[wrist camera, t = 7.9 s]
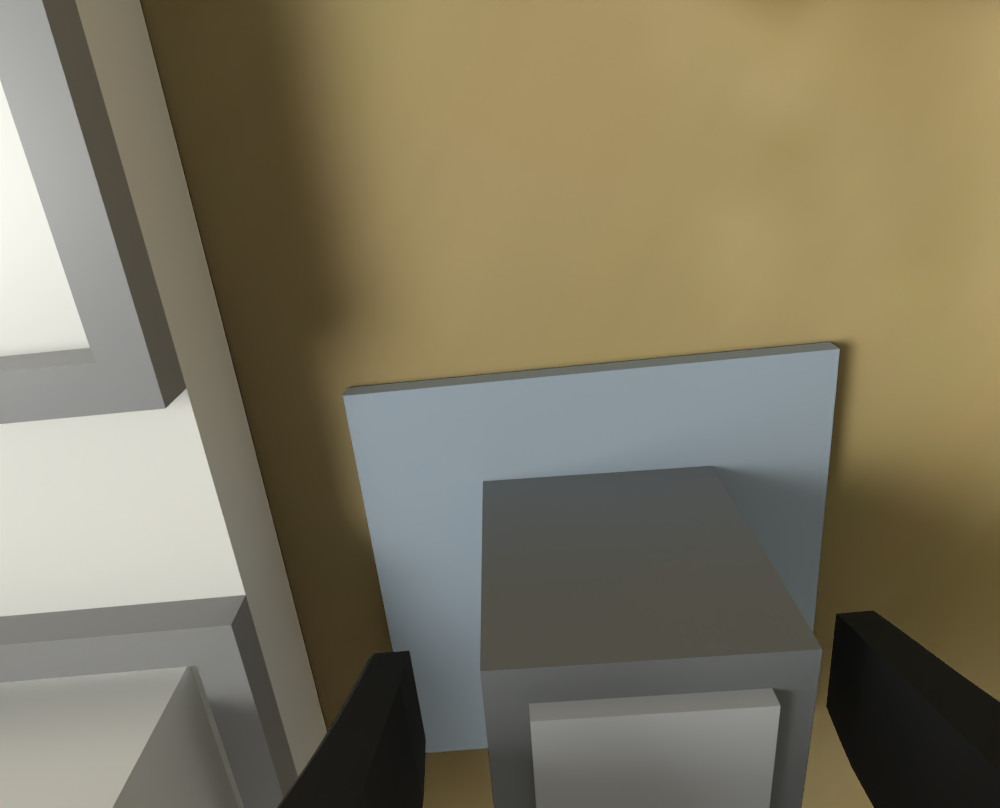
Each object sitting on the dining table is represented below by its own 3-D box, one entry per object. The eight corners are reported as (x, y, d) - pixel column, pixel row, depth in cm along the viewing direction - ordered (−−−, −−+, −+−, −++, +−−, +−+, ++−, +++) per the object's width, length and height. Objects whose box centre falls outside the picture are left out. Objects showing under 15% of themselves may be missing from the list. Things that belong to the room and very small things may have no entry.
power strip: (158, 1015, 21) (112, 1142, 19) (-417, -184, 10) (-730, -281, 7) (395, 997, 21) (382, 1123, 18) (77, -241, 10) (-67, -361, 7)
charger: (498, 659, 16) (503, 914, 11) (482, 480, 14) (479, 688, 9) (702, 646, 16) (799, 896, 11) (711, 466, 14) (832, 666, 9)
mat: (414, 740, 17) (412, 754, 17) (346, 387, 14) (343, 395, 13) (798, 708, 17) (804, 722, 16) (830, 341, 13) (839, 349, 13)
